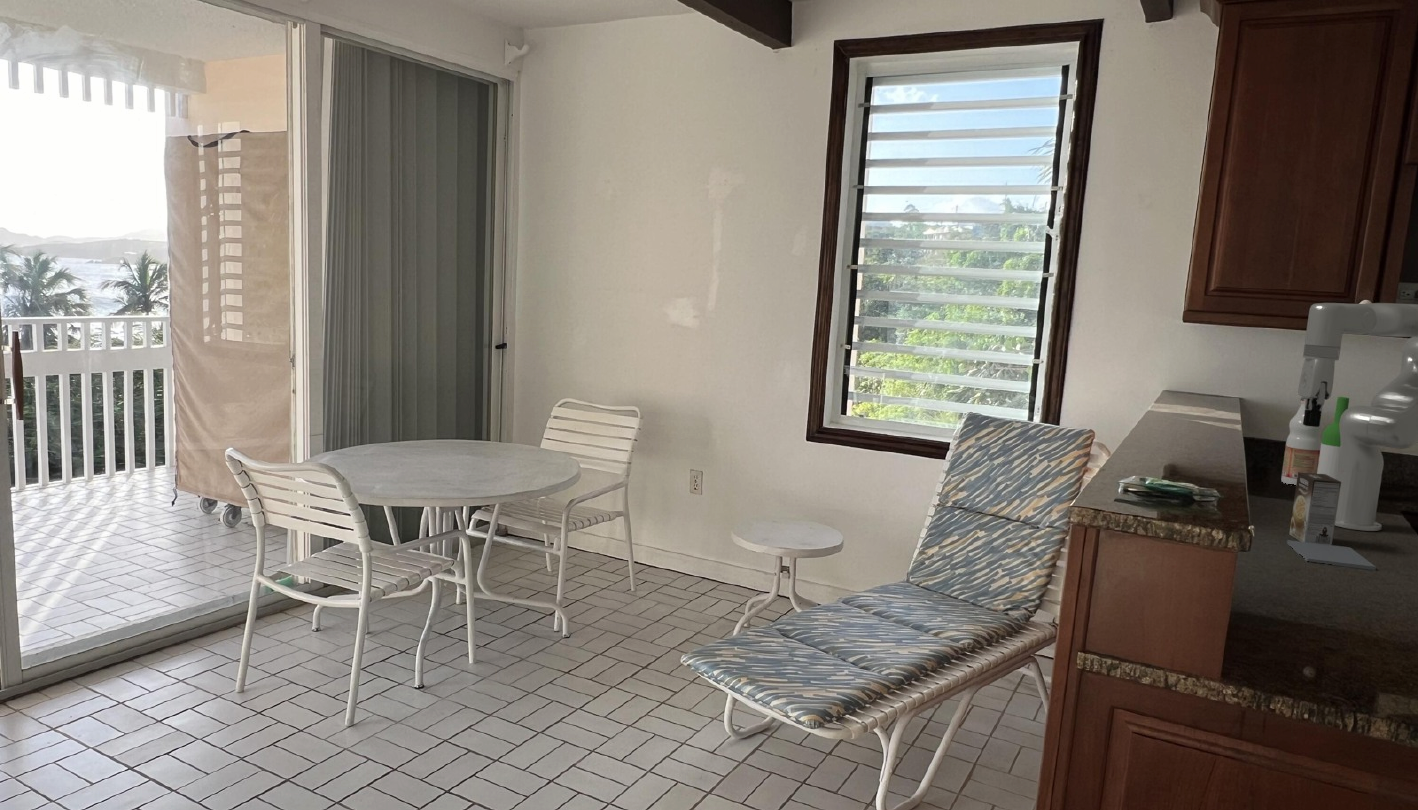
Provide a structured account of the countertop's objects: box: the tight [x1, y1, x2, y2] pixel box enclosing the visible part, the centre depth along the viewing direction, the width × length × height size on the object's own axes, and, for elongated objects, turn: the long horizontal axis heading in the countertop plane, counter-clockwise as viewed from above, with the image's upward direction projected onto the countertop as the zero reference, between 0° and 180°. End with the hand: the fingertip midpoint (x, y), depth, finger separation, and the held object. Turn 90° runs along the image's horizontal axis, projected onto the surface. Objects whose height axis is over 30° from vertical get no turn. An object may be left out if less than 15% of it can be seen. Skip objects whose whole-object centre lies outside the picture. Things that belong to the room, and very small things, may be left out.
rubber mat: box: [1286, 539, 1377, 571], centre depth 208 cm, size 16×13×1 cm
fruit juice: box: [1280, 396, 1324, 485], centre depth 289 cm, size 9×9×28 cm
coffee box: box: [1289, 472, 1341, 545], centre depth 221 cm, size 9×6×16 cm
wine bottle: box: [1317, 396, 1350, 479], centre depth 275 cm, size 8×8×30 cm
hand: (1311, 425), depth 228 cm, fingers closed
